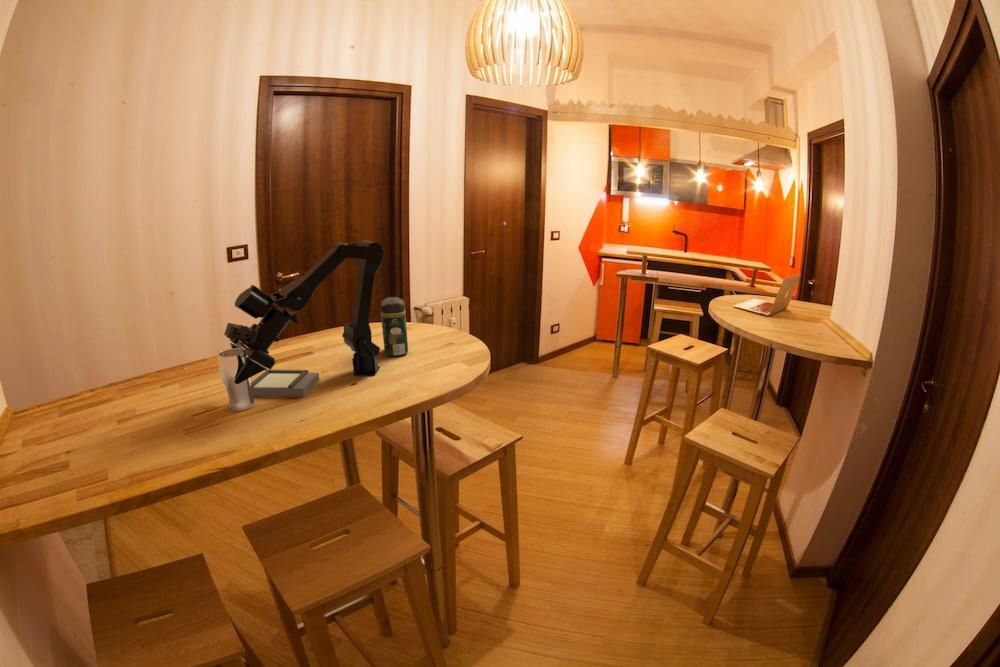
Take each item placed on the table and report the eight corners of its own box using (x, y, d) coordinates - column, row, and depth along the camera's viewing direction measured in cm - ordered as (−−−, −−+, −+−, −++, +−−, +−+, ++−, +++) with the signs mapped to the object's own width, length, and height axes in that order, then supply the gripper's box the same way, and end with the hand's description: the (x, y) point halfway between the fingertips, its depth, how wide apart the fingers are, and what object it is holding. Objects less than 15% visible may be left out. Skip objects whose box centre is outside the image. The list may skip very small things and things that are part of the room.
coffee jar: (384, 348, 173) (379, 296, 167) (407, 346, 175) (403, 294, 169) (384, 358, 164) (379, 303, 158) (409, 356, 166) (405, 301, 160)
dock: (319, 380, 147) (318, 370, 146) (304, 396, 137) (302, 385, 136) (269, 380, 148) (267, 369, 147) (250, 396, 137) (248, 385, 136)
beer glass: (261, 400, 135) (252, 347, 130) (249, 412, 128) (240, 357, 124) (234, 400, 135) (224, 347, 130) (222, 412, 128) (211, 357, 123)
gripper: (232, 303, 133) (193, 352, 129) (253, 319, 119) (210, 374, 116) (267, 326, 140) (231, 373, 137) (291, 343, 127) (252, 395, 123)
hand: (230, 378), depth 128 cm, fingers open, 8 cm apart
